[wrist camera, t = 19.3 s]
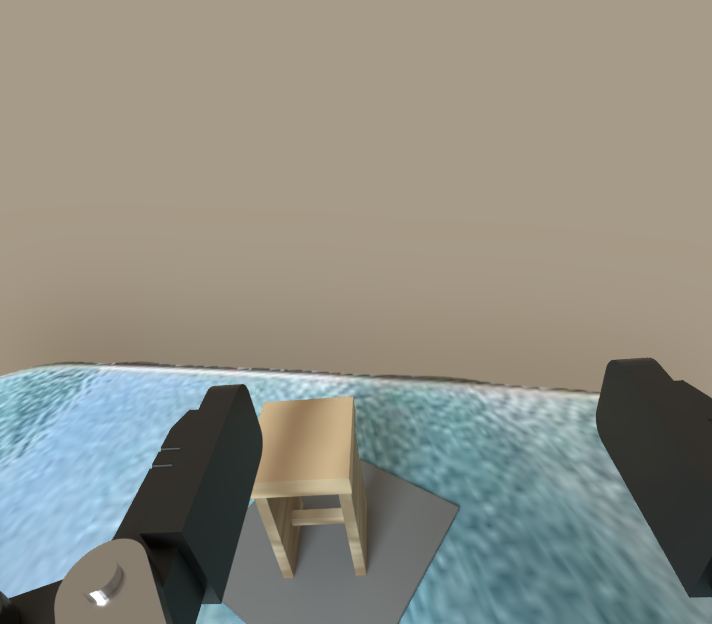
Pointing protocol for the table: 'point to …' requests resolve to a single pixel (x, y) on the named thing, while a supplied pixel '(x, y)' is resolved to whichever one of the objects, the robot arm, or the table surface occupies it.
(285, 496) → the pine stool
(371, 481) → the charcoal mat
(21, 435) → the table surface
